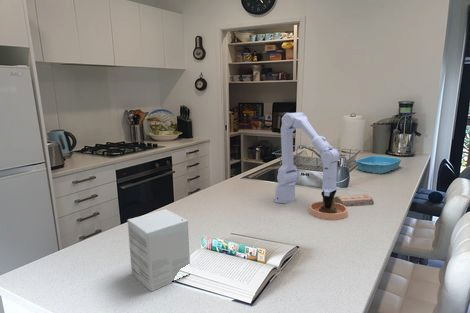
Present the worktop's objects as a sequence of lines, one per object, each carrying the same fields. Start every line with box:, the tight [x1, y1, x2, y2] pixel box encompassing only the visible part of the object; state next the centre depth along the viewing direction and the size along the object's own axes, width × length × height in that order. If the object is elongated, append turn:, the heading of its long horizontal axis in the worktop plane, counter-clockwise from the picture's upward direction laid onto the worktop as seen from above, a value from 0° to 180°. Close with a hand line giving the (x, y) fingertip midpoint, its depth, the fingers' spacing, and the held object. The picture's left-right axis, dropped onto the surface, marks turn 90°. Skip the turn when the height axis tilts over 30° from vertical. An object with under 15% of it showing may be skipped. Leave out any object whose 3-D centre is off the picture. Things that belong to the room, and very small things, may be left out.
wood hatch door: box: [322, 196, 335, 211], centre depth 141 cm, size 5×2×7 cm, turn 67°
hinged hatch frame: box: [319, 206, 337, 213], centre depth 141 cm, size 7×5×2 cm, turn 66°
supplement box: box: [127, 208, 191, 292], centre depth 96 cm, size 13×13×18 cm
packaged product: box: [334, 194, 374, 207], centre depth 153 cm, size 18×5×10 cm
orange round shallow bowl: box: [308, 200, 349, 221], centre depth 141 cm, size 16×16×4 cm
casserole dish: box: [355, 155, 403, 175], centre depth 222 cm, size 37×22×7 cm, turn 133°
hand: (328, 207), depth 141 cm, fingers closed on wood hatch door, 2 cm apart
